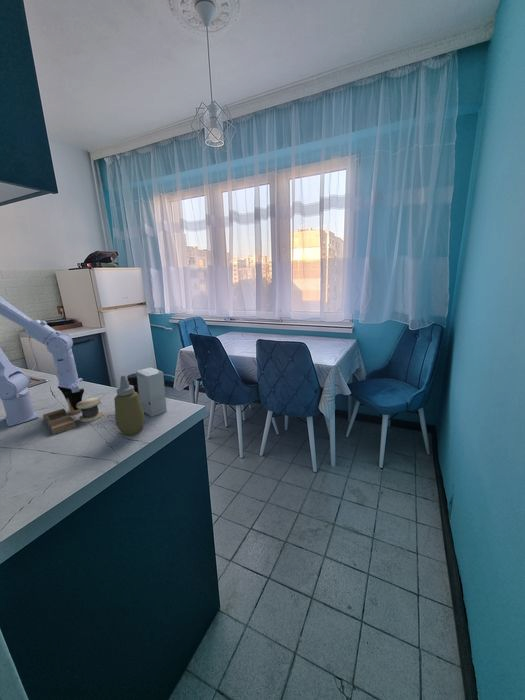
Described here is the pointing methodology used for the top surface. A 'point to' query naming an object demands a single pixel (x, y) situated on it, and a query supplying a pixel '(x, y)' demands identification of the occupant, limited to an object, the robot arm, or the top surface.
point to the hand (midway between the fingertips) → (74, 406)
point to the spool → (89, 409)
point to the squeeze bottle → (128, 409)
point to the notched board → (59, 421)
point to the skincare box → (151, 391)
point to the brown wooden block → (72, 408)
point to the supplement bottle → (133, 381)
